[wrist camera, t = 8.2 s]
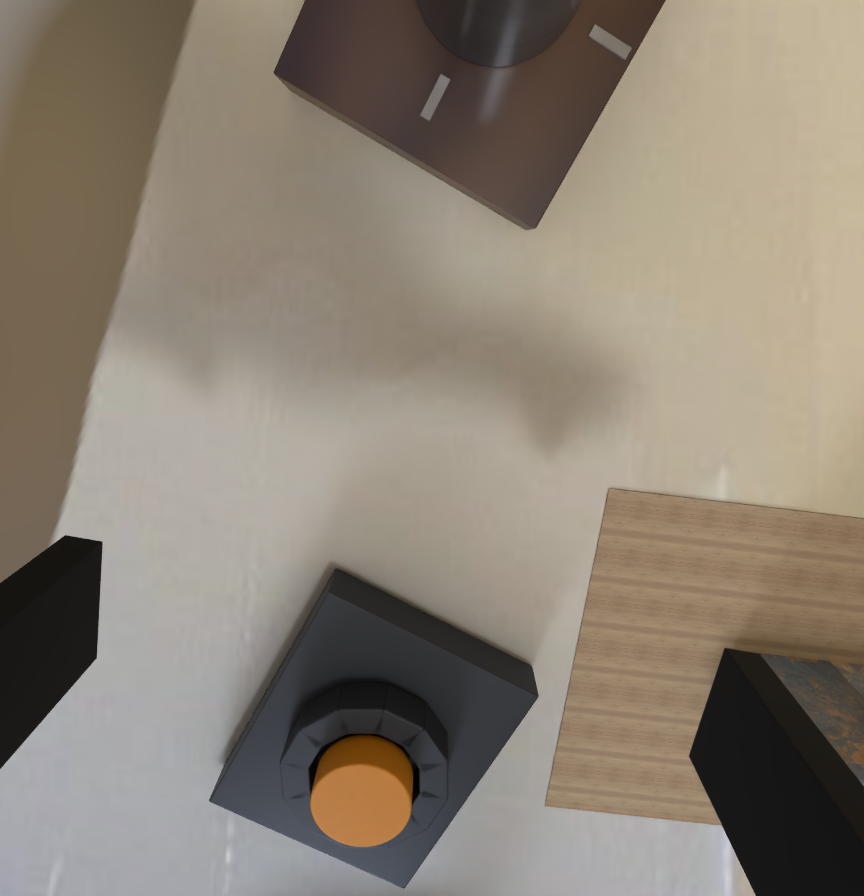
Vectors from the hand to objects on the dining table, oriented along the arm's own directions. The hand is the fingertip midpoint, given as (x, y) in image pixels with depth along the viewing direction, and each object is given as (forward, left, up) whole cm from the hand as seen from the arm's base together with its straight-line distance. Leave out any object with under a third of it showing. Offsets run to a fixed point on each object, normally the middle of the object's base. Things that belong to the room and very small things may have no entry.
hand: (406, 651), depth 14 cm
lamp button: (+4, -12, -11) cm, 17 cm away
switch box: (+4, -12, -15) cm, 20 cm away
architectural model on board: (+22, 0, -15) cm, 27 cm away
